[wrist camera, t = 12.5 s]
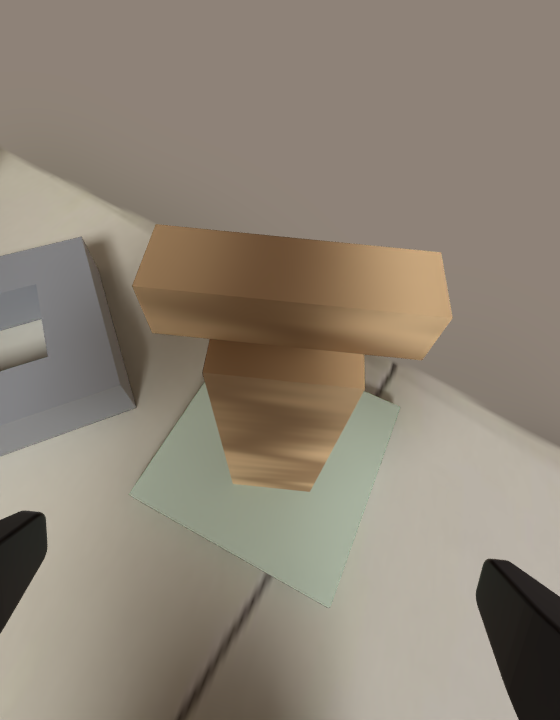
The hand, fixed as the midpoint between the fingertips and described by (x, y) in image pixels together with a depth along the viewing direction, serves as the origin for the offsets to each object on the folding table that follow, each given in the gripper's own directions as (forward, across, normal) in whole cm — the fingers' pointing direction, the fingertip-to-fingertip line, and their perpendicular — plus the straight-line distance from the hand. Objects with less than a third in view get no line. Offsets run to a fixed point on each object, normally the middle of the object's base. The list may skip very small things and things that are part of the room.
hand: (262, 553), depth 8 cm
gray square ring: (+16, +16, +2) cm, 23 cm away
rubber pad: (+13, 0, +5) cm, 14 cm away
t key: (+12, 0, +4) cm, 13 cm away
